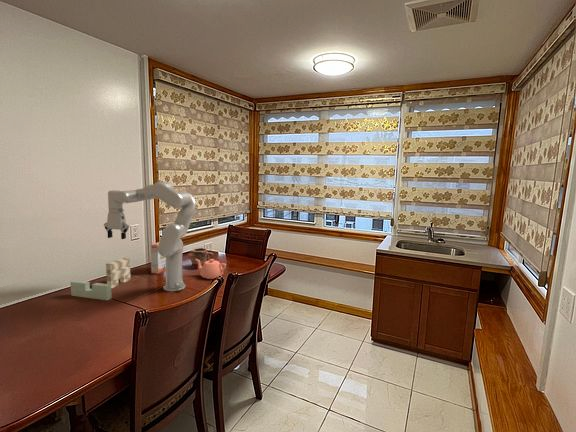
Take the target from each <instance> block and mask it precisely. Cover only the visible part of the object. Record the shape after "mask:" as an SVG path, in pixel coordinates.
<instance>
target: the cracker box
mask: <svg viewBox="0 0 576 432" xmlns="http://www.w3.org/2000/svg"><path fill="white" fill-rule="evenodd" d="M159 242H160V241H158V242H155V243H151V244H150V263H151V264H150V271H151V272H150V274H156V275H158V274H161V273H163V272H166V257H163V256H161V255H160V254H159V252H158V245H159Z"/></svg>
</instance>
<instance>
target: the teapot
mask: <svg viewBox="0 0 576 432" xmlns="http://www.w3.org/2000/svg"><path fill="white" fill-rule="evenodd" d="M196 260H197V262H198V269H197V270H198V271H199V274H200V276H201V277H202V278H203V279H205V278H206V279H207V280H215V279H214V278H216V277H219V276H223V274H224V271H225V269H226V266H227V264H226V263H222V262H221V263H220V261H218V260H215V258H213V259H212V258H210V259H209V260H210V261H206V262H205V263H204V264H203V266H201V263H200V260H198V259H196ZM219 278H220V277H219ZM216 279H217V278H216Z"/></svg>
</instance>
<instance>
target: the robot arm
mask: <svg viewBox="0 0 576 432" xmlns="http://www.w3.org/2000/svg"><path fill="white" fill-rule="evenodd" d="M155 199H159V200H160V201H162V202H164V203H165V204H167V205H168V206H170V207H172V208H180V210H179V211H178V213H177V214H176V215H177V216H176V218H175V220H174V222H172V223H170V224H168V225H167V226H165V228H164V229H163V232H162V234H161V236H160V240H159V241H158V242H159V245H158V252H159V254H160V255H161V256H163V257H166V270H165V285H164V286H163V290H164V291H166V292H178V291H181V290H182V291H183V290H184V289H185V288H186V284H185V283H184V281H183V252H184V242H183V241H182V239H181V238H183V237H184V236H186V234H187V233H188V231H189V228H190V225H191V222H192V219H193V216H194V214H195V212H196V209H197V208H196V207H197V203H196V199H195V198H194V196H193V195H192V194H191V193H190V192H187V191H179V192H176V191H175V187H174V185H173V183H171V182H168V181H158V182H155V183H153V184H147V185H145V186H144V187H143V188H139V189H138V188H137V189H133V190H132V189H129V190H109V191H108V192H107V201H108V202H107V203H108V205H107V206H108V214H107V220H106V222H105V223H103V226H104V229H105V232H107V238H108V239H111V238H113V235H114V234H113V230H118V231H120V232H121V233H120V239H121V240H125V239H126V238H127V232H128V231H129V228H130V225H129V224H127V222H126V221H127V220H126V215H125V213H124V211H125V210H124V209H123V205H124V204H130V203H137V202H143V201H148V200H155Z"/></svg>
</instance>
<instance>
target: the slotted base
mask: <svg viewBox="0 0 576 432" xmlns="http://www.w3.org/2000/svg"><path fill="white" fill-rule="evenodd" d="M90 283H91V282H90V281H85V280H76V279H75V280H72V281H70V295H71V296H73V297H78V298H86V299H94V300H101V301H109V300H111V299H113V298H112V296H113V295H112V288H111V285H110V284H107V283H102V282H95V283H92V284H91V287H90Z"/></svg>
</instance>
